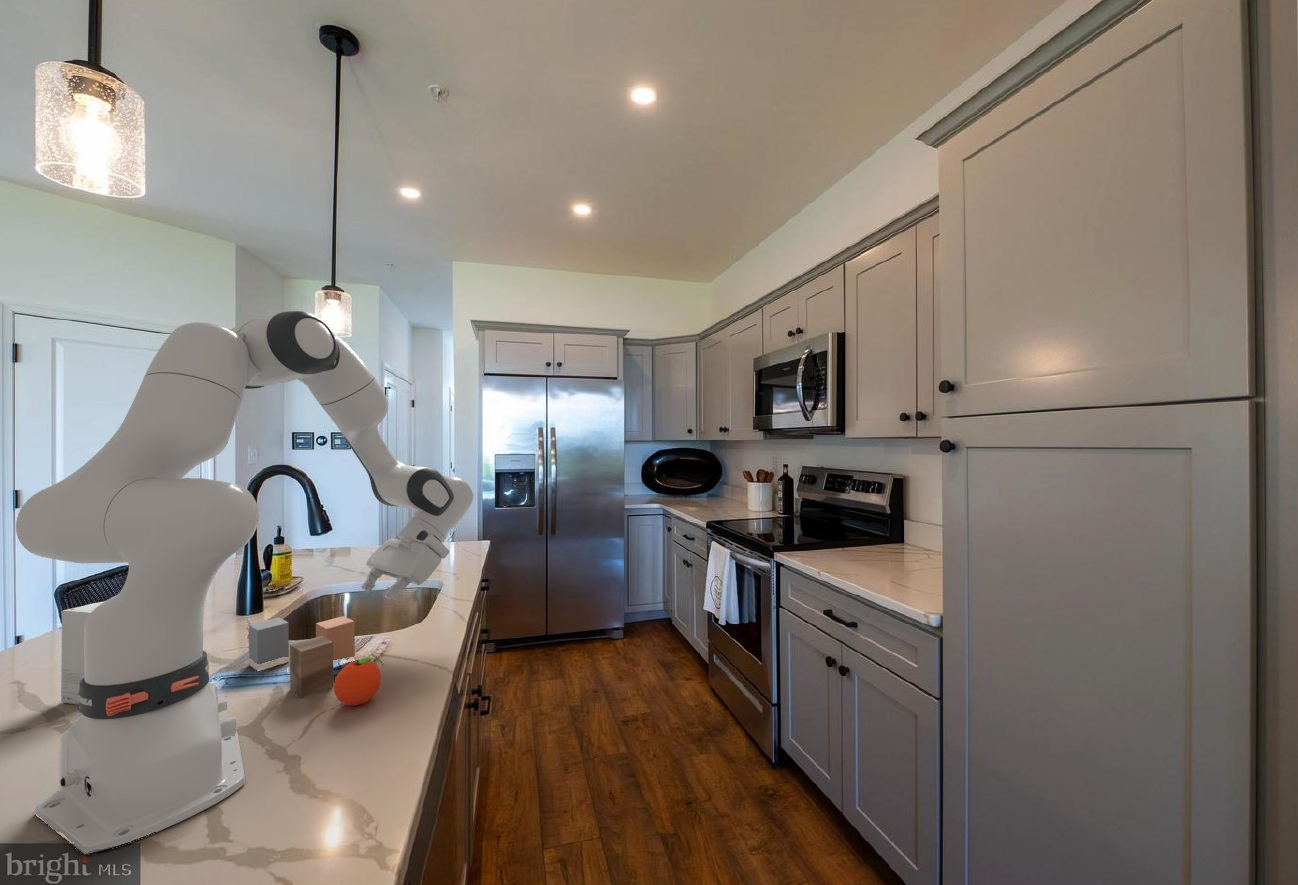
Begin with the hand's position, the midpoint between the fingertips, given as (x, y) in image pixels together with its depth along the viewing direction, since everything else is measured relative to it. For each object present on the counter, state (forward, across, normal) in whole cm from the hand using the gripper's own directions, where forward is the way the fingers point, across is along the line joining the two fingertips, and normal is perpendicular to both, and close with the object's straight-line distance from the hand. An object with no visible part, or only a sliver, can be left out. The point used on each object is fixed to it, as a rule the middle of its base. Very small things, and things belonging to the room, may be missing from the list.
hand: (375, 593), depth 105 cm
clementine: (+17, +20, 0) cm, 26 cm away
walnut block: (+19, +8, -2) cm, 20 cm away
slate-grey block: (+19, -10, -3) cm, 22 cm away
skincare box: (+34, -20, -18) cm, 44 cm away
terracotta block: (+14, 0, +3) cm, 14 cm away
